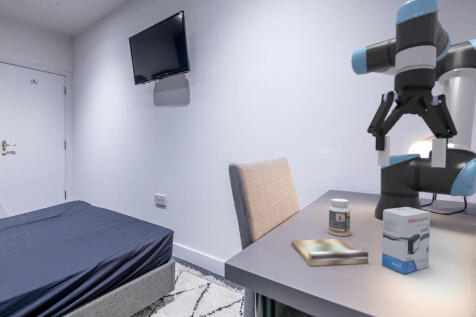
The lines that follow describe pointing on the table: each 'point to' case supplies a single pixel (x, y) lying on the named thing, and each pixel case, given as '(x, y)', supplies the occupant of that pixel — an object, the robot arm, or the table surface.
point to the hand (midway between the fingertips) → (411, 166)
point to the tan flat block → (329, 252)
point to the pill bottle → (339, 217)
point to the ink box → (405, 239)
